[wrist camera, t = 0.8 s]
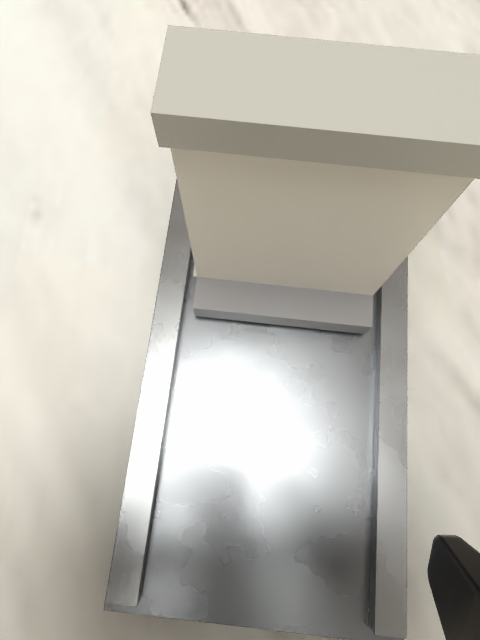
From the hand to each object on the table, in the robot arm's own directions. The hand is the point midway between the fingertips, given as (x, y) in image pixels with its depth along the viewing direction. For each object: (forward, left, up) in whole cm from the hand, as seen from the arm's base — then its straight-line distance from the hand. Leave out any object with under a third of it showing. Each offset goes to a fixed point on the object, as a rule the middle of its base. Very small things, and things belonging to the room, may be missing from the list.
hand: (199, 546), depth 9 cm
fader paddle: (+9, -6, -11) cm, 15 cm away
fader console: (+6, -5, -13) cm, 15 cm away
